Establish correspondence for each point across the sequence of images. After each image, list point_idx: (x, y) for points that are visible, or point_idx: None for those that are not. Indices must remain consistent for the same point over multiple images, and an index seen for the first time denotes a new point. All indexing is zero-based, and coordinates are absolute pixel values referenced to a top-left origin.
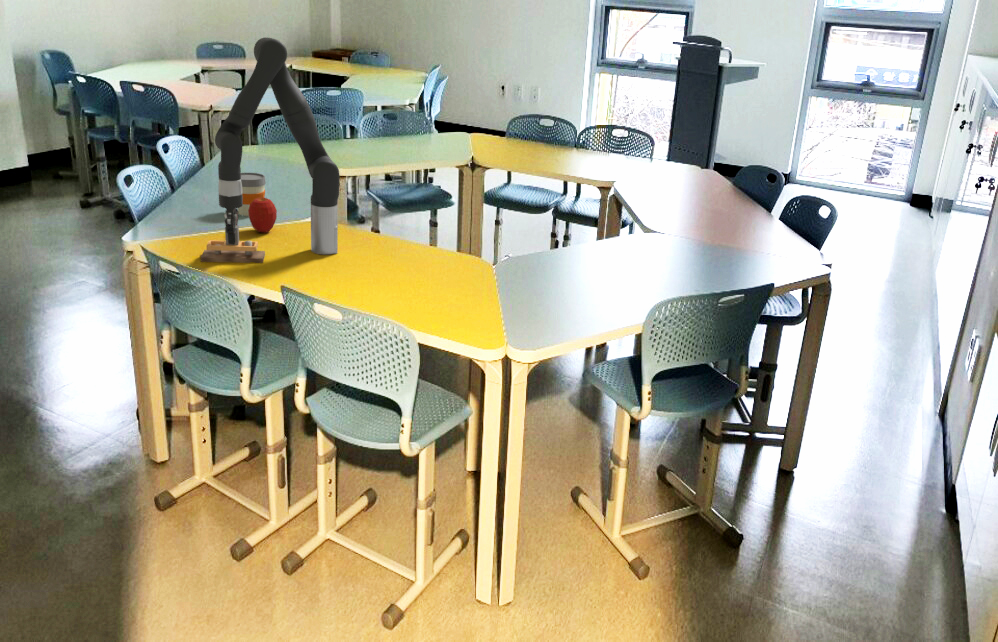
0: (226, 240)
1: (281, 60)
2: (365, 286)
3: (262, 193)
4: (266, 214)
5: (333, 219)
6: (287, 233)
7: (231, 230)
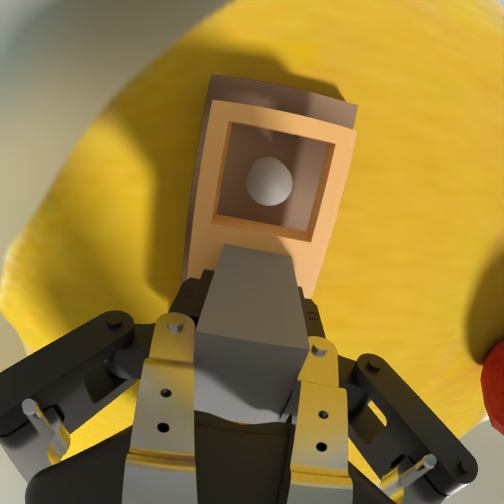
0: (218, 264)
1: None
2: (73, 441)
3: None
4: (497, 414)
5: None
6: (451, 402)
7: (105, 364)
